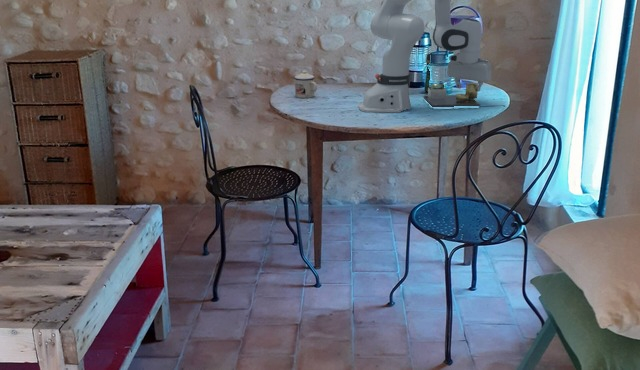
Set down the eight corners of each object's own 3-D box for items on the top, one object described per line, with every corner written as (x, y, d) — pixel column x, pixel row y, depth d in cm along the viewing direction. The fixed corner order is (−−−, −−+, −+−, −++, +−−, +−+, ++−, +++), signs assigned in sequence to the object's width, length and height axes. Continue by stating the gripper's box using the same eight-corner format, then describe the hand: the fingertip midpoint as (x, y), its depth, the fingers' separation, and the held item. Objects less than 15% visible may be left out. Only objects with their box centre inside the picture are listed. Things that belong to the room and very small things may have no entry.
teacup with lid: (290, 96, 300) (290, 71, 296) (304, 93, 306) (304, 68, 302) (309, 100, 292) (309, 74, 288) (323, 96, 298) (323, 71, 294)
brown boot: (462, 101, 276) (463, 87, 274) (453, 99, 280) (454, 85, 278) (479, 97, 282) (480, 84, 280) (470, 95, 286) (471, 82, 284)
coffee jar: (434, 95, 300) (436, 54, 293) (421, 92, 305) (423, 52, 299) (448, 92, 305) (450, 51, 299) (435, 89, 311) (437, 50, 305)
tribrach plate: (432, 109, 273) (433, 90, 270) (423, 100, 290) (424, 82, 287) (480, 108, 274) (481, 89, 271) (468, 99, 291) (469, 81, 288)
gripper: (495, 59, 273) (493, 91, 278) (454, 54, 287) (452, 85, 292) (487, 61, 269) (484, 94, 274) (445, 56, 283) (444, 87, 287)
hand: (468, 89), depth 283 cm, fingers open, 8 cm apart
